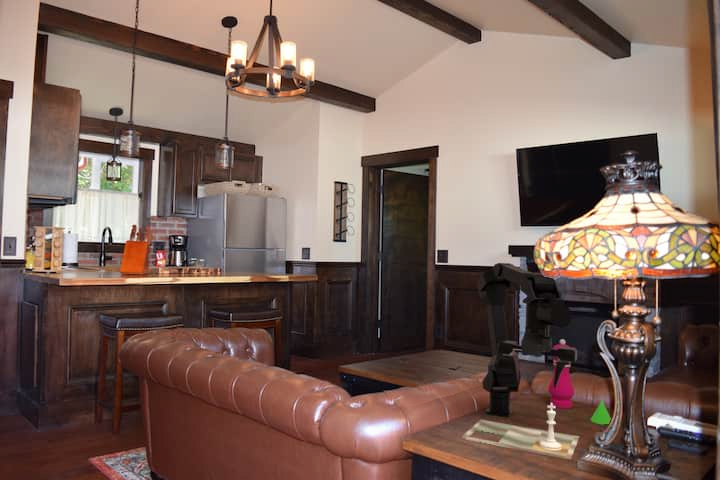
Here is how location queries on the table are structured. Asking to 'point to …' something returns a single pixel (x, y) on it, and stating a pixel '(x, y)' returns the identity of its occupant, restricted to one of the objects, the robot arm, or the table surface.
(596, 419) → the gemstone
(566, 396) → the pepper mill
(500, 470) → the table surface
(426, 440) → the table surface
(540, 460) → the table surface
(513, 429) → the game board
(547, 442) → the chess piece
